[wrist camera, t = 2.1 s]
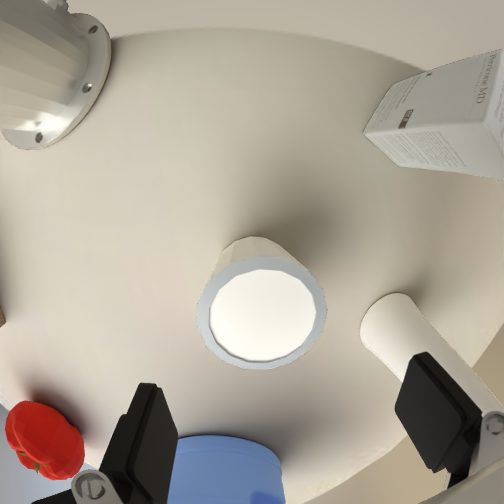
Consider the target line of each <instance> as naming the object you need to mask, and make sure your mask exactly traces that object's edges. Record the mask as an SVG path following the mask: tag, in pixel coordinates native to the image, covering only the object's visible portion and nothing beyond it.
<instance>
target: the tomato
mask: <svg viewBox="0 0 504 504" xmlns="http://www.w3.org/2000/svg"><path fill="white" fill-rule="evenodd" d="M5 431H6V436H7V441H8V443H9V445H10V446H11V447H12V448H13V449H14V450H16V453H17V455H18V458H19V460H20V462H21V463H22V464H23V465H24V466H25V467H27V468H28V469H34V470H36V472H37V473H38V470H39V472H40V473H41V474H42V475H43V476H44V477H46V478H49V479H51V480H65V479H67V478H72V477H73V476H74V475H76V474H77V473H78V472H79V470H80V468H81V467H82V465H83V461H84V457H85V450H84V441H83V439H82V437H81V435H80V433H79V431H78V429H77V428H76V427H75V426H73V425H72V424H69V423H68V422H67V420H66V418H65V417H64V416H63V415H62V414H61V413H59V412H58V411H57V410H56V409H54V408H52V407H49V406H47V405H45V404H40V403H36V402H32V401H22V402H20V403H18V404H17V405H16V406H15V407H14V408H13V409H12V410H11V411H10V412H9V415H8V417H7V419H6V426H5Z"/></svg>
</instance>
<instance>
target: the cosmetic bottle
mask: <svg viewBox="0 0 504 504" xmlns="http://www.w3.org/2000/svg"><path fill="white" fill-rule="evenodd" d="M360 338H361V341H362V343H363V344H364V346H365V347H367V348H368V349H369V350H370V351H372V352H373V353H374V354H375V355H376V356H377V357H378V358H379V359H380V360H382V361H383V362H384V363H385V364H386V365H387V366H388V368H389V369H390V370H391V371H392V372H393V373H394V374H395V375H396V376H397V377H398V378H399V380H400V381H401V382H402V383H403V380H404V377H405V373H406V370H407V366H408V363H409V360H410V359H412V356H413V355H415V354H418V353H422V352H425V351H426V352H428V353H430V354H431V355H432V357H433V358H434V359H435V360H436V361H437V362H438V363H439V364H440V365H441V366H442V367H443V368H444V369H445V370H446V371H447V373H448V374H449V375H450V376H451V377H452V378H453V379H454V380H455V381H456V382H457V383H458V385H459V386H460V387H461V388H462V389H463V390H464V391H465V392H466V393H467V395H468V396H469V397H470V398H471V399H472V400H473V401H474V403H475V404H476V405H477V406H478V407H479V408H480V410H481V411H482V412H483V413H482V414H481V415H482V417H484V416H485V415H486V414H487V413H488V412H491V411H500V412H502V413H504V407H503V406H502V404H501V403H500V402H499V400H498V399H497V398H496V397H495V396H494V394H493V393H492V392H491V391H490V390H489V388H488V387H487V386H486V385H485V384H484V382H482V380H481V379H480V378H479V377H478V376H477V375H476V373H475V372H474V371H473V370H472V369H471V368H470V367H469V366H468V364H467V363H466V362H465V361H464V360H463V359H462V358H461V357H460V356H459V355H458V354H457V352H456V351H455V350H454V349H453V348H452V347H451V346H450V345H449V344H448V343H447V342H446V341H445V339H444V338H443V337H442V336H441V335H440V334H439V333H438V332H437V331H436V329H435V328H434V327H433V326H432V325H431V324H430V323H429V321H428V320H427V319H426V318H425V317H424V315H423V314H422V313H421V312H420V310H419V309H418V308H417V306H416V305H415V304H414V302H413V301H412V299H411V298H410V297H408V296H407V295H405V294H401V293H393V294H389V295H387V296H384V297H382V298H381V299H379V300H378V301H377V302H375V303H374V304H373V305H372V306H371V307H370V309H369V310H368V311H367V313H366V314H365V316H364V318H363V320H362V323H361V327H360Z"/></svg>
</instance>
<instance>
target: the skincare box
mask: <svg viewBox="0 0 504 504" xmlns="http://www.w3.org/2000/svg"><path fill="white" fill-rule="evenodd" d="M363 134H364V135H365V136H366V137H367V138H368V139H369V140H370V141H371V142H372V143H374V144H375V145H376V146H377V147H378V148H379V149H380V150H381V151H383V152H384V153H385V154H386V155H387V156H388V157H389V158H390V159H391V160H392V161H393V162H395V163H396V164H397V165H398V166H399V167H411V168H421V169H430V170H439V171H447V172H455V173H462V174H469V175H475V176H481V177H486V178H491V179H497V180H502V181H504V50H502V49H499V50H496V51H492V52H488V53H485V54H481V55H477V56H473V57H470V58H466V59H463V60H459V61H456V62H453V63H450V64H447V65H444V66H441V67H438V68H435V69H432V70H429V71H427V72H424V73H421V74H418V75H416V76H413V77H410V78H407V79H405V80H402V81H400V82H397V83H395V84H394V85H393V86H392V87H391V88H390V89H389V91H388V92H387V94H386V95H385V96H384V98H383V99H382V101H381V102H380V104H379V106H378V107H377V109H376V110H375V112H374V114H373V115H372V117H371V119H370V121H369V122H368V124H367V126H366V128H365V130H364V132H363Z"/></svg>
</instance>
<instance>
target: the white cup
mask: <svg viewBox="0 0 504 504" xmlns="http://www.w3.org/2000/svg"><path fill="white" fill-rule="evenodd" d="M326 314H327V306H326V301H325V296H324V292H323V288H322V287H321V286H320V284H319V283H318V282H317V280H316V279H315V278H314V277H313V275H312V274H311V273H310V272H309V270H308V269H307V268H305V267H304V266H303V265H302V264H301V263H300V262H298V261H297V260H296V259H295V258H294V257H293V256H291V255H290V254H289V253H288V252H287V251H286V250H284V249H283V248H282V247H281V246H280V245H279V244H277V243H275V242H273V241H271V240H269V239H267V238H264V237H252V236H249V237H246V238H243V239H240V240H236V241H234V242H233V243H232V244H231V245H229V246H228V247H227V248H226V249H225V250H223V252H222V254H221V256H220V258H219V260H218V262H217V264H216V266H215V268H214V270H213V272H212V274H211V276H210V278H209V280H208V282H207V284H206V286H205V289H204V291H203V293H202V295H201V297H200V299H199V301H198V303H197V328H198V330H199V332H200V334H201V336H202V338H203V341H204V343H205V345H206V347H207V348H209V349H210V350H211V351H212V352H213V353H214V354H215V355H217V356H218V357H219V358H220V359H221V360H222V361H224V362H227V363H229V364H232V365H235V366H237V367H240V368H243V369H258V370H269V369H272V368H276V367H279V366H282V365H286V364H289V363H291V362H293V361H294V360H296V359H297V358H299V357H300V356H301V355H303V354H304V353H306V352H307V351H309V350H310V348H311V347H312V346H313V344H314V343H315V341H316V340H317V339H318V337H319V336H320V334H321V333H322V331H323V327H324V323H325V319H326Z"/></svg>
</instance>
